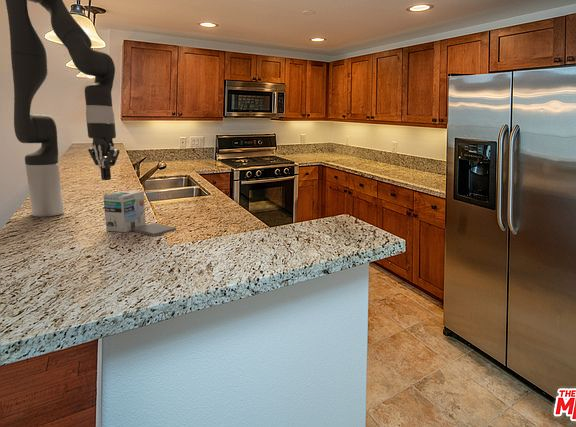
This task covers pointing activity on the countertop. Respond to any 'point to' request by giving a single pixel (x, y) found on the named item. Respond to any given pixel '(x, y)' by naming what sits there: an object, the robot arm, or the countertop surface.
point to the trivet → (154, 229)
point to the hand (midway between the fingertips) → (106, 179)
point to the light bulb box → (124, 210)
